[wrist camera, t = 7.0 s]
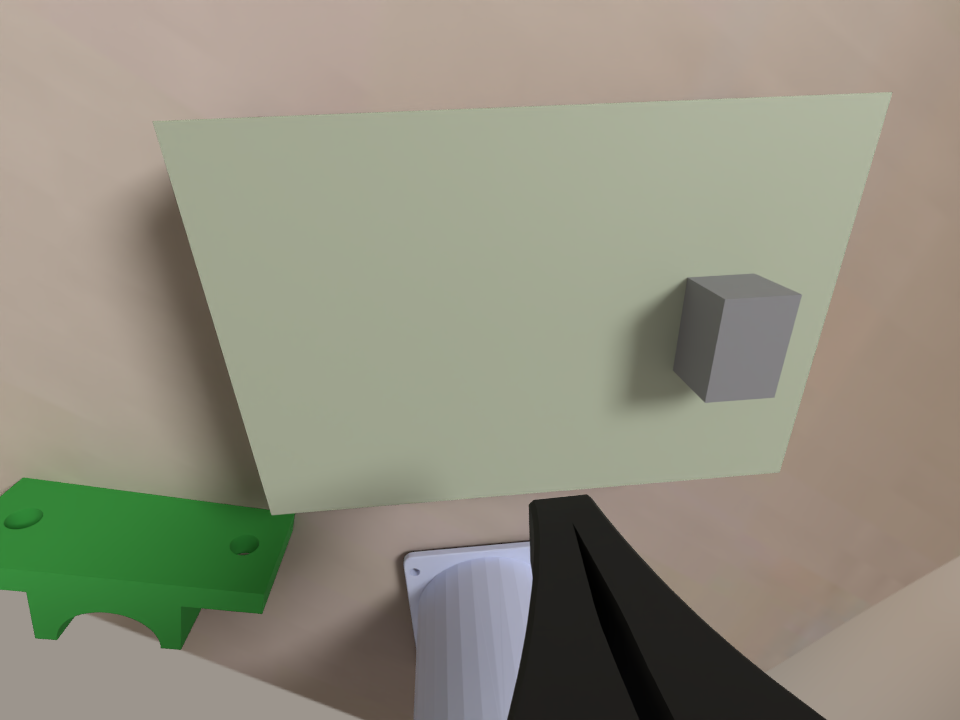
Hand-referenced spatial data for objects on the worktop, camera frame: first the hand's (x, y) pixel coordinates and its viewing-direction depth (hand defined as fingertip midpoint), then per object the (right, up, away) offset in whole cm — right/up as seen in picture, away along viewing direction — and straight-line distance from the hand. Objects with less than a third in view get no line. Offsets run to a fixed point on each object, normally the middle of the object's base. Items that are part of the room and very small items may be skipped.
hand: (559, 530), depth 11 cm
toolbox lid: (0, +7, +7) cm, 10 cm away
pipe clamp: (-16, -3, +11) cm, 20 cm away
